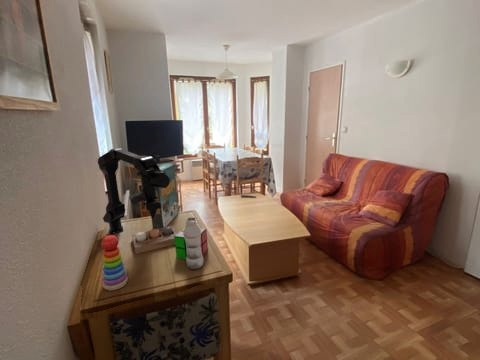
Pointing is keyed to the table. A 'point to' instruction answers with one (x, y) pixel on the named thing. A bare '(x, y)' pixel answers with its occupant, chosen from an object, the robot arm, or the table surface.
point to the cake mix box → (166, 199)
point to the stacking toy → (113, 265)
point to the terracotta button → (154, 233)
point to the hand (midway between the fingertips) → (152, 218)
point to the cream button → (141, 236)
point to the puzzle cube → (181, 244)
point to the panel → (153, 241)
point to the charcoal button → (167, 230)
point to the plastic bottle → (193, 244)
